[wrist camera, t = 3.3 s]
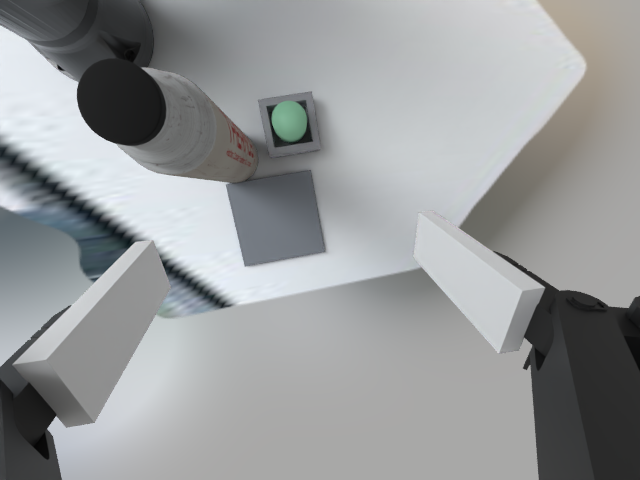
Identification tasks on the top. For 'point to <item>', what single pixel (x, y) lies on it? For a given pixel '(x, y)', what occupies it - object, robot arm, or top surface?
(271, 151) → the button housing
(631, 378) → the robot arm
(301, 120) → the button
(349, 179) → the top surface
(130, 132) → the thermos bottle
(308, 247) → the pad
